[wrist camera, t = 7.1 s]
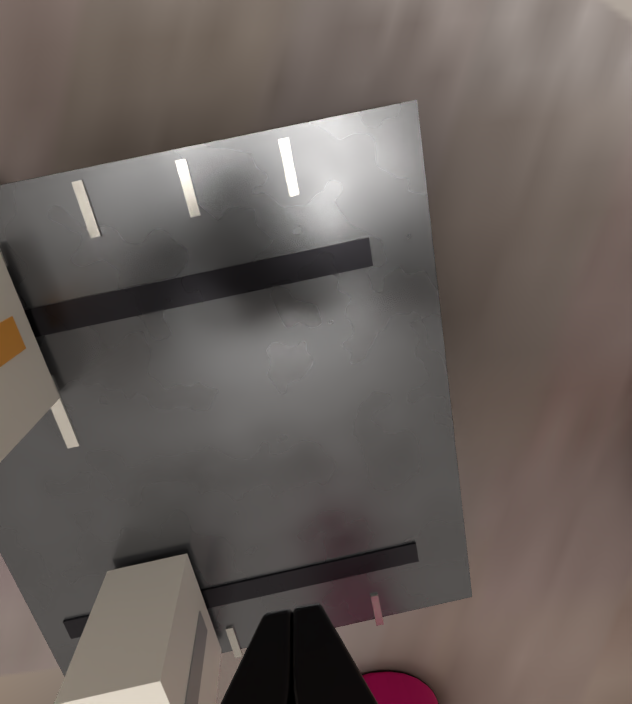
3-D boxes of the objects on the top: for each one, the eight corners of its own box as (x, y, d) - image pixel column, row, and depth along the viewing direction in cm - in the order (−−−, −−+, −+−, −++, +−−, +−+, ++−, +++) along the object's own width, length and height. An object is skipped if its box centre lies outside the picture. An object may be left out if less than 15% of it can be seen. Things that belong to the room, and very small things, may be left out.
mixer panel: (402, 92, 16) (416, 83, 14) (459, 575, 23) (473, 604, 21) (-139, 202, 15) (-182, 205, 14) (84, 659, 22) (71, 694, 21)
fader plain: (188, 553, 19) (162, 680, 14) (223, 649, 20) (209, 792, 16) (105, 571, 19) (51, 705, 14) (147, 666, 20) (111, 815, 16)
